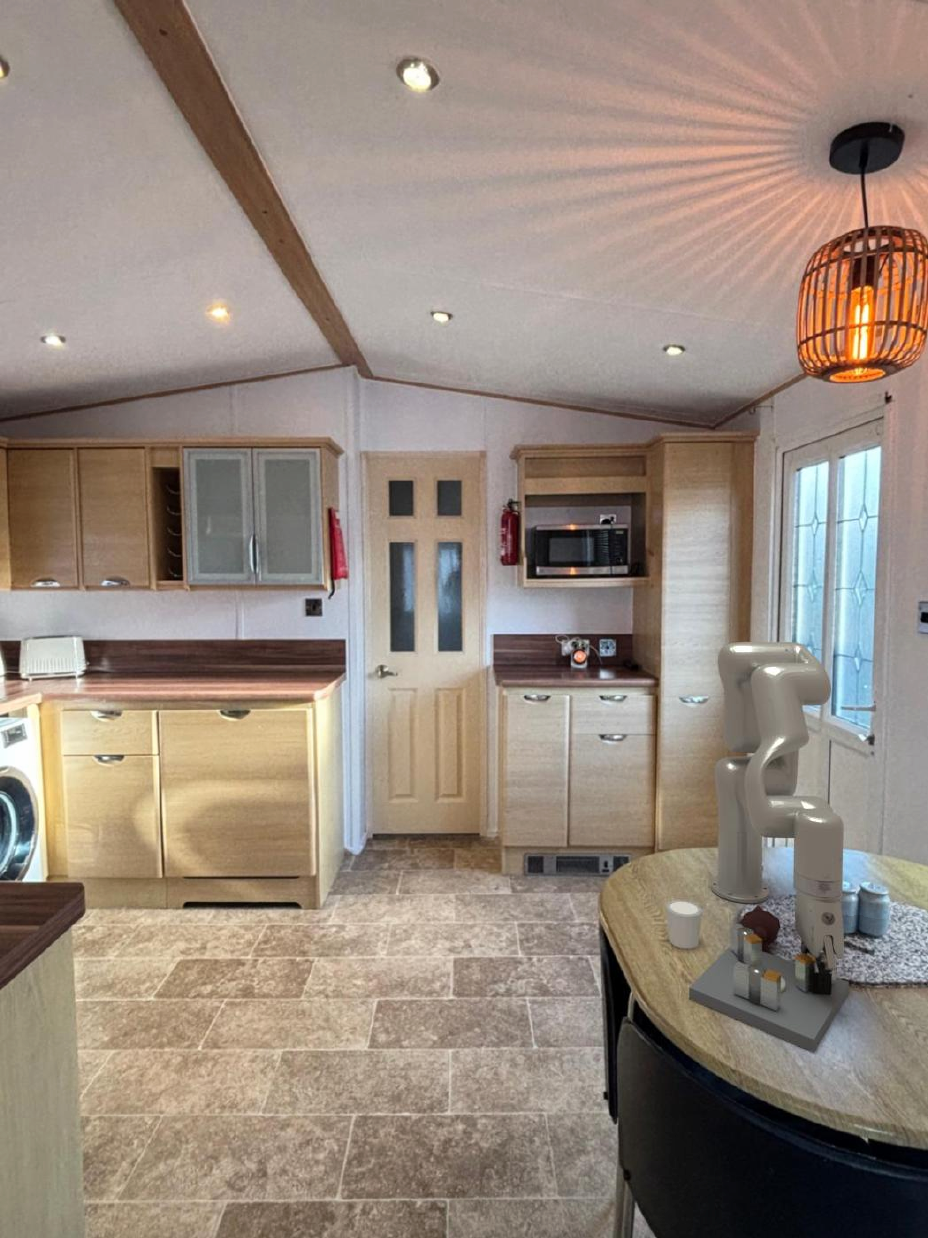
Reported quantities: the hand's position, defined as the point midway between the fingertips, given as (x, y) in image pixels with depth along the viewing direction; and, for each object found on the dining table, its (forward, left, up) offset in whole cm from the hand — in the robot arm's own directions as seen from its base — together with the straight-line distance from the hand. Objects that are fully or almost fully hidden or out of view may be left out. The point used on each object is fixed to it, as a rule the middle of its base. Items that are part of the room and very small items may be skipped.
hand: (815, 984), depth 118 cm
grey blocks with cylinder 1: (+11, -6, 0) cm, 13 cm away
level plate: (+5, -6, -2) cm, 8 cm away
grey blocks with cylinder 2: (0, 0, 0) cm, 0 cm away
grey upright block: (0, -12, 0) cm, 12 cm away
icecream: (-12, -13, -2) cm, 18 cm away
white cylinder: (-2, -25, -2) cm, 25 cm away
